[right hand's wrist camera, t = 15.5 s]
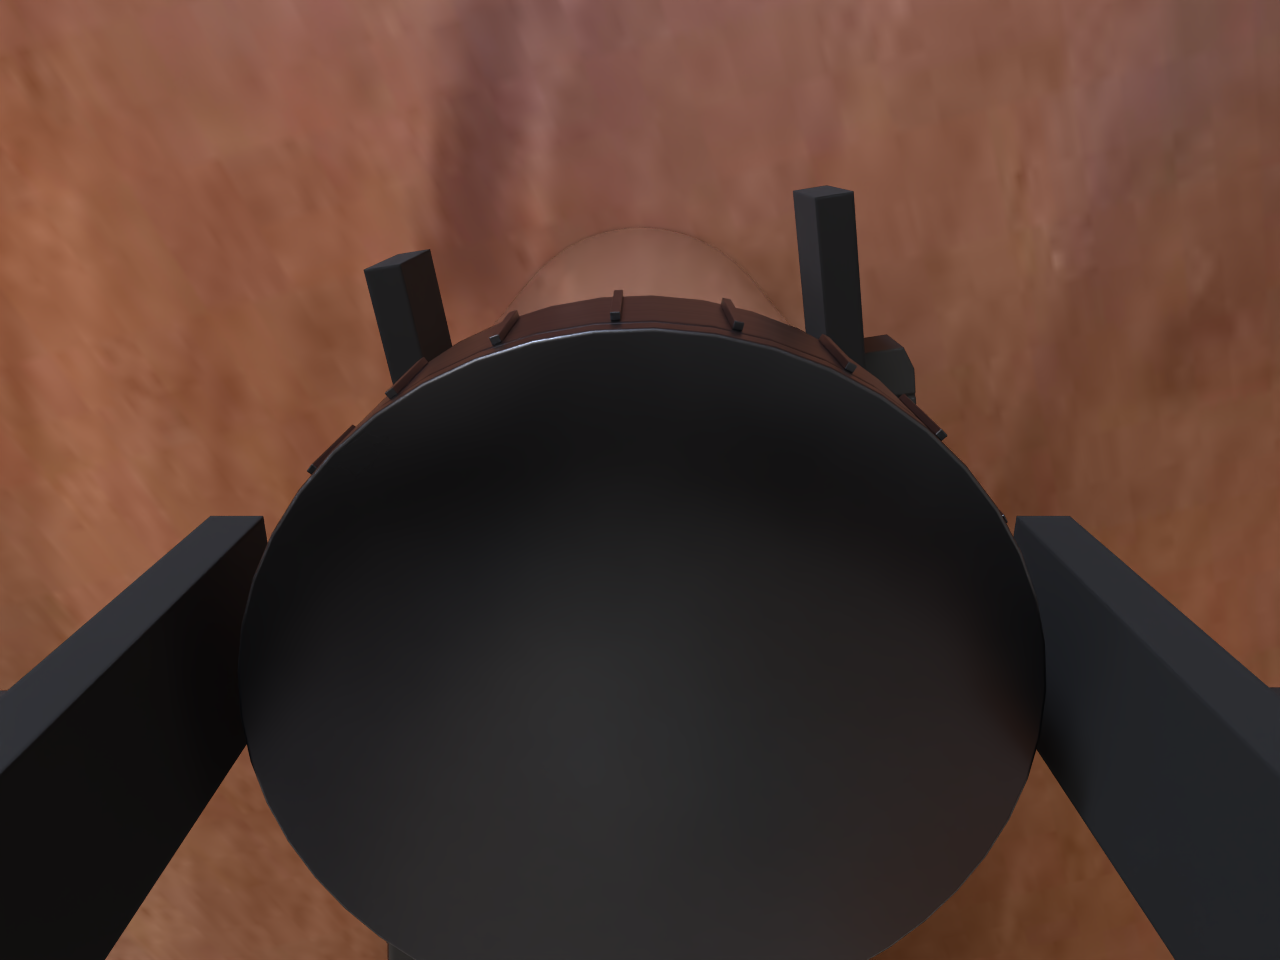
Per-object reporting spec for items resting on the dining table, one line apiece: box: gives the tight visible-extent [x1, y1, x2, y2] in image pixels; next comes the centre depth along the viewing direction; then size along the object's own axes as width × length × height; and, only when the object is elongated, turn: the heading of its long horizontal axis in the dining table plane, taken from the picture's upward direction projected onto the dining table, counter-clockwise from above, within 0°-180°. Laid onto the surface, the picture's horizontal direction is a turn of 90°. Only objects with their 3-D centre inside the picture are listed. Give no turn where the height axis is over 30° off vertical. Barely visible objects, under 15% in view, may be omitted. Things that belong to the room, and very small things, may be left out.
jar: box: [493, 228, 790, 326], centre depth 19 cm, size 8×8×16 cm
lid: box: [238, 290, 1046, 960], centre depth 11 cm, size 9×9×2 cm
